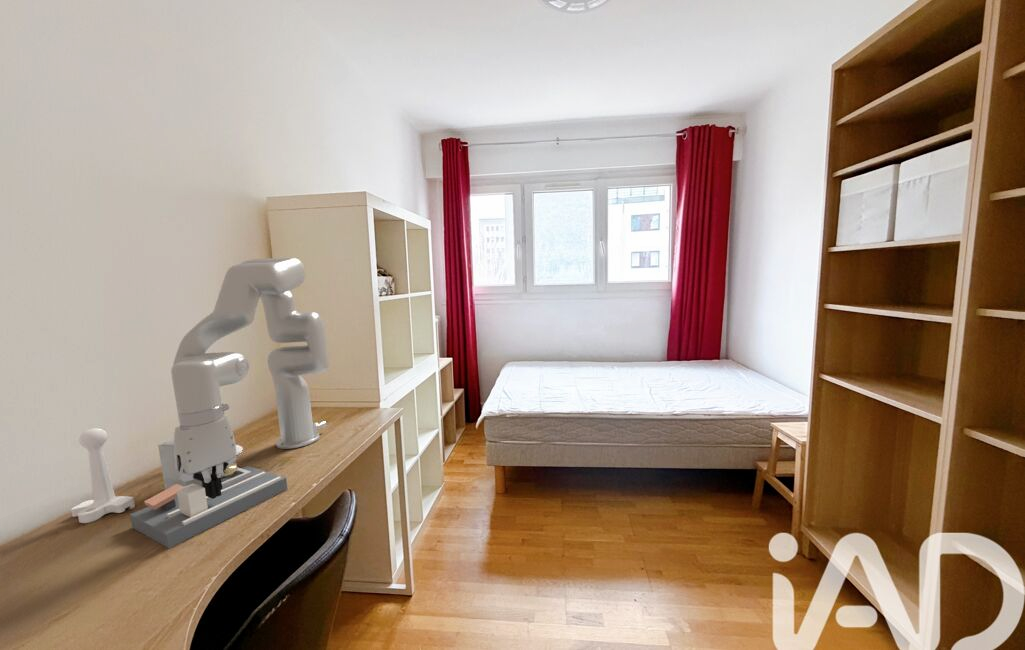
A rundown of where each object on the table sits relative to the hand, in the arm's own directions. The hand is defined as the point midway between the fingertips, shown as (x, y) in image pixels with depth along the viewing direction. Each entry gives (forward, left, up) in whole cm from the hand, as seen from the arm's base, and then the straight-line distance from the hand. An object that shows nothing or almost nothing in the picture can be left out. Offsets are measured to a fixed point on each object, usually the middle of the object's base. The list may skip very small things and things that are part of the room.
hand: (213, 495), depth 88 cm
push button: (-7, -9, 0) cm, 11 cm away
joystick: (+11, -28, -5) cm, 30 cm away
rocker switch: (+5, -9, 0) cm, 10 cm away
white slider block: (+4, 0, -1) cm, 4 cm away
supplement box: (-5, -24, -5) cm, 25 cm away
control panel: (-2, -5, -5) cm, 7 cm away
